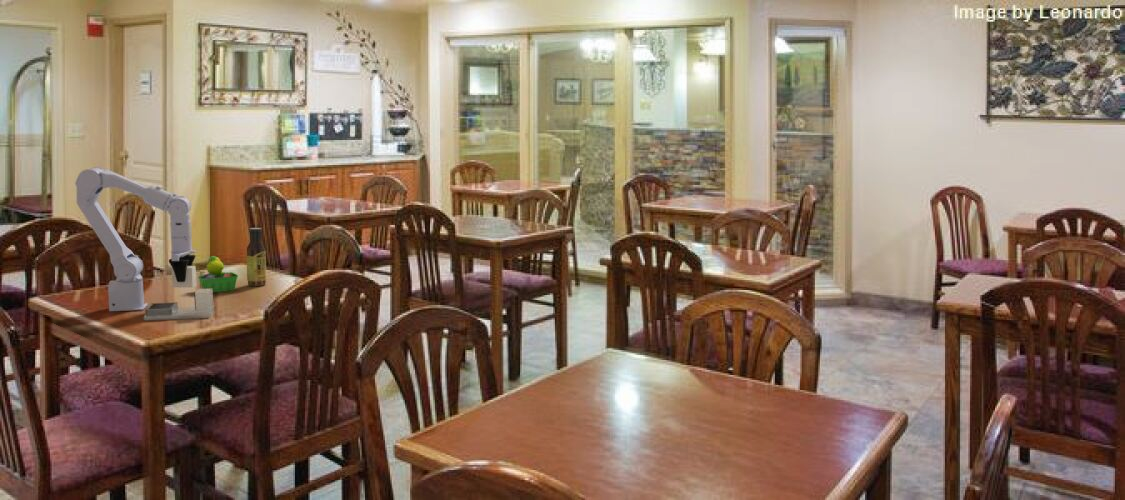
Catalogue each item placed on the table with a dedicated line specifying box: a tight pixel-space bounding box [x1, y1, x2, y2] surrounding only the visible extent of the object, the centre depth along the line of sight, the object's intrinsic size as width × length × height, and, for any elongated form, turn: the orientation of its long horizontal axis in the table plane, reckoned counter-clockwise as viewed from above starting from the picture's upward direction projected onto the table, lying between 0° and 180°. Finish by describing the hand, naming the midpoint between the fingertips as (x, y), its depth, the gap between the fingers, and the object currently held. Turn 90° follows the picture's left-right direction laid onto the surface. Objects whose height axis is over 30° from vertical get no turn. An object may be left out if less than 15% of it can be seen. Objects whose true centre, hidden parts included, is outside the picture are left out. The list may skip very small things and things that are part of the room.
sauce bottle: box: [246, 227, 267, 287], centre depth 314 cm, size 7×6×20 cm
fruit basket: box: [197, 255, 239, 293], centre depth 306 cm, size 11×9×11 cm
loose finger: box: [171, 265, 197, 288], centre depth 281 cm, size 4×6×6 cm
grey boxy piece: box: [143, 288, 216, 321], centre depth 271 cm, size 18×10×7 cm, turn 103°
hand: (183, 280), depth 281 cm, fingers closed on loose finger, 4 cm apart
